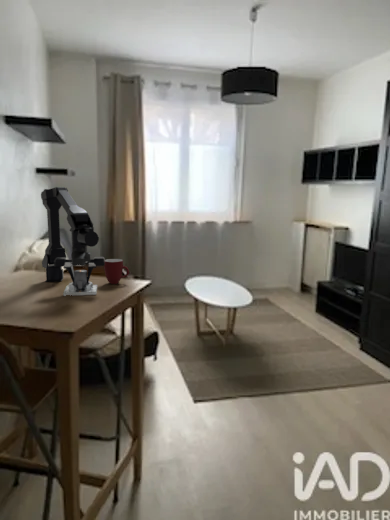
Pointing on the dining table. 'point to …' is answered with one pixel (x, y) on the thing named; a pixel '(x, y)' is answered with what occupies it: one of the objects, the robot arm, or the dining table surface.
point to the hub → (80, 289)
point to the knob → (80, 278)
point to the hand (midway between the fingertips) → (80, 283)
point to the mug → (114, 270)
